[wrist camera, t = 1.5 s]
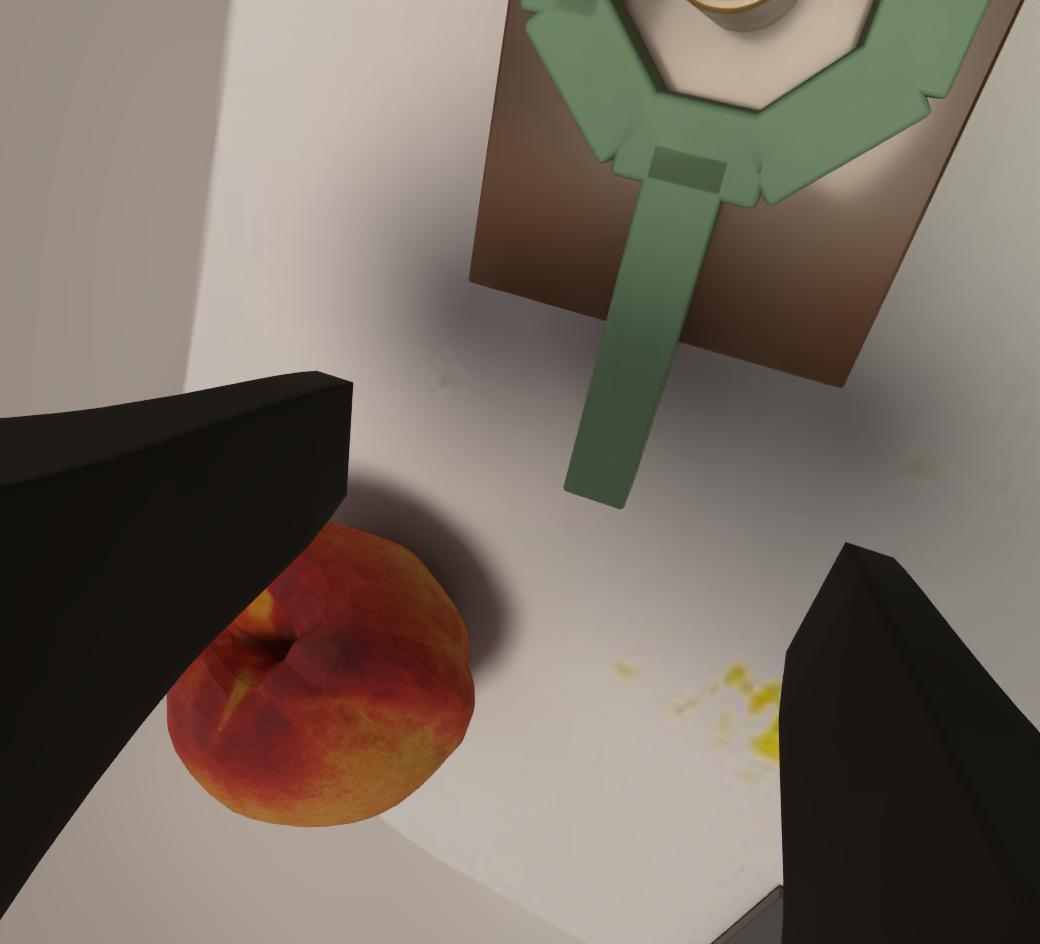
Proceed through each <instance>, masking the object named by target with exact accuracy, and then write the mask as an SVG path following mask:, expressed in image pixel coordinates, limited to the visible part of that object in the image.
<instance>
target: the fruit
mask: <svg viewBox="0 0 1040 944" xmlns="http://www.w3.org/2000/svg"><path fill="white" fill-rule="evenodd" d="M470 657H471V649H470V638H469V633H468V631H467V629H466V626H465V624H464V622H463V619H462V617H461V615H460V613H459V611H458V609H457V608H456V606H455V605H454V603H453V602H452V601H451V599H450V598H449V596H448V595H447V594H446V592H445V591H444V590H443V588H442V587H441V586H440V584H439V583H438V582H437V580H436V579H435V578H434V576H433V575H432V574H431V573H430V571H429V570H428V569H427V567H426V566H425V565H424V564H423V562H422V561H421V560H420V559H419V558H418V557H417V556H416V555H414V554H413V553H412V552H410V551H409V550H408V549H407V548H405V547H404V546H401V545H399V544H396V543H394V542H392V541H389V540H387V539H384V538H382V537H379V536H377V535H374V534H371V533H368V532H365V531H362V530H359V529H355V528H351V527H347V526H343V525H339V524H334V523H329V522H327V523H326V524H325V526H324V527H323V528H322V530H321V531H320V532H319V534H318V535H317V536H316V537H315V539H314V540H313V541H312V543H311V544H310V545H309V546H308V547H307V548H306V549H305V550H304V551H303V552H302V553H301V554H300V555H299V556H298V557H297V558H296V559H295V560H294V561H293V562H292V563H291V564H290V565H289V566H288V567H287V568H286V569H285V570H284V571H283V572H282V573H281V574H280V575H279V576H278V577H277V578H276V579H275V580H274V581H273V582H272V583H271V584H270V585H269V586H268V587H267V588H266V589H265V590H264V591H263V592H262V593H261V594H260V595H259V596H258V597H257V598H256V599H255V600H254V601H253V602H252V603H251V604H250V605H249V606H248V607H247V608H246V609H245V610H244V611H243V612H242V613H241V614H240V615H239V616H238V617H237V618H236V619H235V620H234V621H233V622H232V623H231V624H230V625H229V626H228V627H227V628H226V629H225V630H223V631H222V632H221V633H220V634H219V635H218V636H217V637H216V638H215V639H214V640H213V641H212V642H211V643H210V644H209V645H208V647H207V648H206V649H205V650H204V651H203V652H202V653H201V654H200V655H199V656H198V657H197V658H196V659H195V661H194V662H193V663H192V664H191V665H190V666H189V667H188V668H187V669H186V671H185V672H184V673H183V674H182V675H181V677H180V678H179V679H178V680H177V682H176V683H175V684H174V685H173V686H172V688H171V689H170V690H169V691H168V693H167V724H168V731H169V734H170V737H171V740H172V743H173V746H174V749H175V751H176V753H177V754H178V756H179V757H180V759H181V760H182V762H183V763H184V765H185V767H186V768H187V770H188V771H189V773H190V774H191V775H192V776H193V777H194V778H195V779H196V780H197V781H198V782H199V783H200V785H201V786H202V787H203V788H204V789H205V790H206V791H207V792H208V793H209V794H210V795H211V796H213V797H214V798H215V799H217V800H218V801H219V802H221V803H222V804H224V805H225V806H226V807H227V808H229V809H230V810H232V811H233V812H235V813H238V814H240V815H243V816H246V817H248V818H251V819H255V820H259V821H263V822H267V823H272V824H280V825H289V826H297V827H326V826H334V825H342V824H349V823H354V822H358V821H361V820H365V819H368V818H371V817H373V816H377V815H379V814H381V813H383V812H385V811H387V810H388V809H390V808H392V807H394V806H396V805H398V804H399V803H400V802H402V801H403V800H404V799H406V798H407V797H408V796H409V795H411V794H412V793H413V792H414V791H415V790H417V789H418V788H419V787H420V786H421V785H423V784H424V783H425V782H426V781H427V780H428V779H429V778H430V777H431V776H432V775H433V774H434V772H435V771H436V770H437V769H438V768H439V767H440V766H441V765H442V764H443V763H444V761H445V760H446V759H447V758H448V757H449V756H450V755H451V754H452V753H453V751H454V750H455V749H456V748H457V747H458V746H459V745H460V744H461V743H462V741H463V739H464V736H465V734H466V731H467V728H468V726H469V723H470V720H471V717H472V715H473V711H474V706H475V687H474V683H473V679H472V675H471V671H470Z"/></svg>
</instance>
